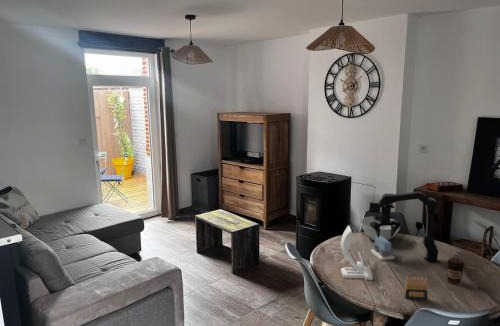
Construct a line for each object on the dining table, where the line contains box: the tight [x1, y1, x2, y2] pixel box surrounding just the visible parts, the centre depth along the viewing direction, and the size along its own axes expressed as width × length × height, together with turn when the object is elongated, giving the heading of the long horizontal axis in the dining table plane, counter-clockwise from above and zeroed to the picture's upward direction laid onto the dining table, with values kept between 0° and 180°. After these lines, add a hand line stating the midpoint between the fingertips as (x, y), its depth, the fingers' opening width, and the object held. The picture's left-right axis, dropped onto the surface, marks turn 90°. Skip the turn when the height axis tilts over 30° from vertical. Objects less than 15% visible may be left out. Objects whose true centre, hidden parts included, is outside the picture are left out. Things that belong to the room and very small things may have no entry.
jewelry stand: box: [340, 225, 374, 281], centre depth 215 cm, size 25×16×25 cm, turn 0°
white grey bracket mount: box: [370, 242, 395, 261], centre depth 235 cm, size 13×9×6 cm
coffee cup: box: [446, 257, 466, 285], centre depth 200 cm, size 9×8×13 cm
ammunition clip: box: [403, 275, 429, 301], centre depth 186 cm, size 11×2×12 cm, turn 81°
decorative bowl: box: [360, 216, 401, 242], centre depth 261 cm, size 27×27×12 cm
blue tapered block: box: [374, 236, 392, 252], centre depth 234 cm, size 12×4×5 cm, turn 10°
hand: (384, 237), depth 234 cm, fingers open, 9 cm apart
